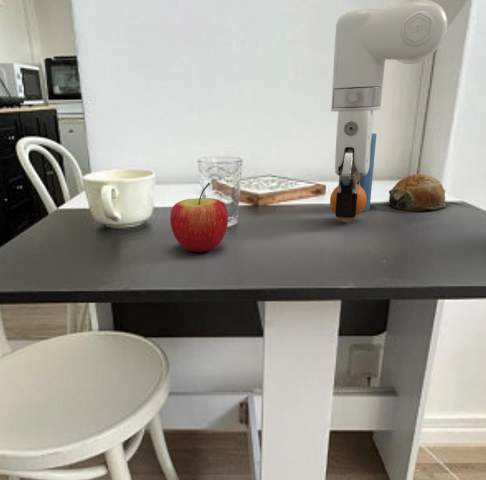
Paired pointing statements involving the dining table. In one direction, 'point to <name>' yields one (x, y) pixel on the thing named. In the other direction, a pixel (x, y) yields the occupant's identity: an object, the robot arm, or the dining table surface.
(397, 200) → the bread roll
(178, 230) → the apple
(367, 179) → the bottle
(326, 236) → the dining table surface
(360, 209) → the orange
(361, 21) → the robot arm
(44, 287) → the dining table surface
